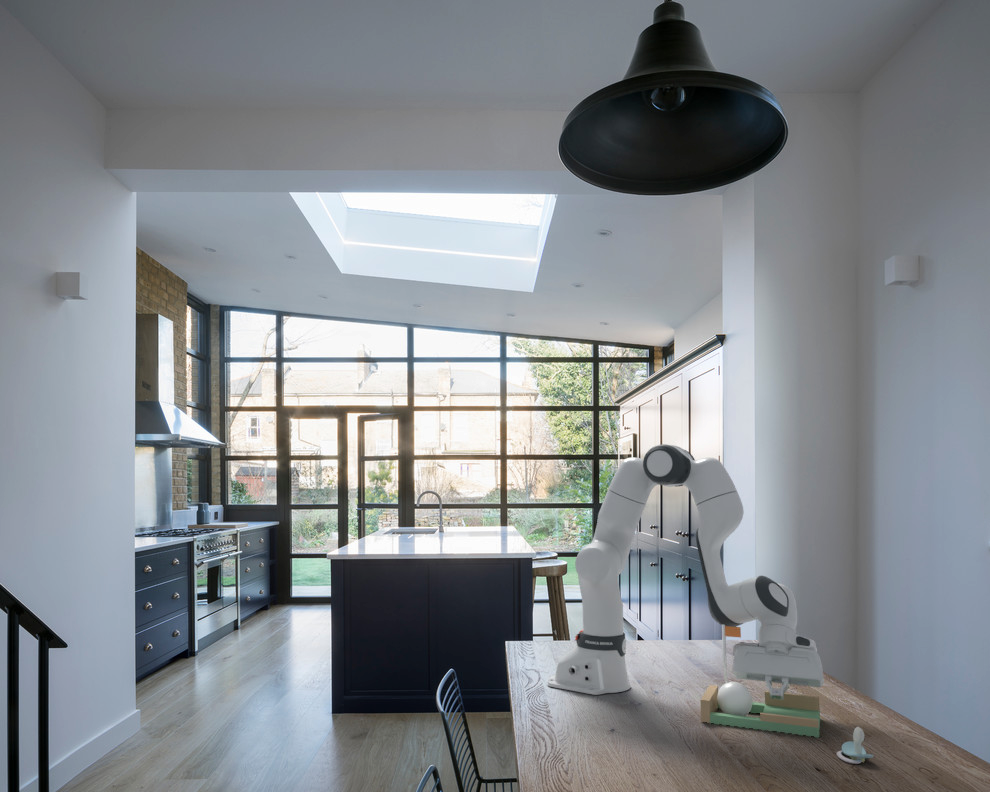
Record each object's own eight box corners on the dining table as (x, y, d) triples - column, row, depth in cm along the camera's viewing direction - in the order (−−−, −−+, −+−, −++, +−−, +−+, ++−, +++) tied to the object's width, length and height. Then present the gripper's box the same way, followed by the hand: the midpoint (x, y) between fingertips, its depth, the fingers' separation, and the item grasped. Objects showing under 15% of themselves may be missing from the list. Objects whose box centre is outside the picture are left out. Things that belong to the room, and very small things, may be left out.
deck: (701, 722, 170) (698, 633, 172) (710, 705, 182) (707, 622, 185) (819, 737, 159) (814, 642, 162) (820, 718, 172) (815, 630, 174)
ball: (753, 693, 168) (747, 727, 168) (757, 684, 176) (751, 717, 175) (718, 681, 172) (711, 715, 172) (723, 673, 179) (717, 706, 179)
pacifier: (846, 767, 144) (877, 766, 143) (843, 733, 144) (874, 733, 144) (831, 753, 151) (861, 753, 151) (828, 721, 152) (858, 721, 151)
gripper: (732, 634, 182) (728, 684, 172) (822, 641, 173) (823, 695, 163) (734, 648, 185) (731, 699, 175) (823, 657, 177) (824, 710, 167)
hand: (776, 697), depth 169 cm, fingers closed
